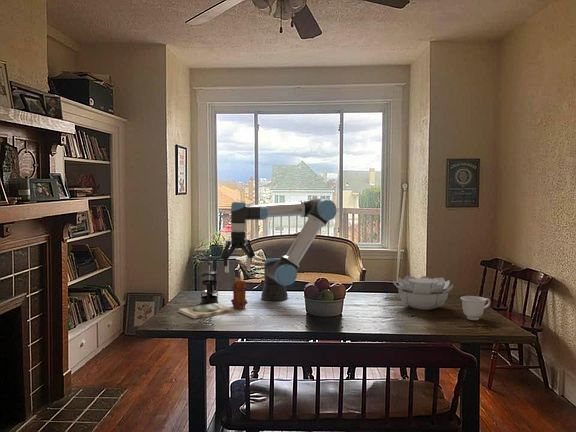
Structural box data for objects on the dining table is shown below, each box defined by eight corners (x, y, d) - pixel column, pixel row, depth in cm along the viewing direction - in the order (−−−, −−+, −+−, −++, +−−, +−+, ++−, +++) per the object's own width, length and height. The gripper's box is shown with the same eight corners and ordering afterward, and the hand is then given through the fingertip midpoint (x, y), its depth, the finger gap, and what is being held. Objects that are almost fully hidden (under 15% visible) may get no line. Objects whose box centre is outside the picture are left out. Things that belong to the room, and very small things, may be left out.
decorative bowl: (430, 299, 285) (430, 273, 284) (463, 312, 257) (464, 283, 256) (382, 303, 276) (383, 276, 275) (411, 316, 248) (412, 286, 247)
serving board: (216, 305, 268) (216, 301, 268) (233, 311, 255) (233, 307, 255) (178, 312, 255) (178, 307, 254) (194, 318, 241) (194, 314, 241)
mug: (248, 309, 260) (248, 281, 259) (233, 310, 258) (233, 281, 257) (243, 303, 274) (243, 276, 273) (228, 304, 272) (228, 276, 271)
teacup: (496, 321, 240) (497, 300, 239) (467, 322, 237) (468, 301, 237) (482, 314, 252) (483, 295, 251) (455, 316, 249) (455, 296, 249)
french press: (216, 305, 270) (216, 262, 269) (199, 305, 270) (199, 262, 268) (219, 300, 282) (219, 259, 280) (202, 300, 281) (202, 259, 280)
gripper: (253, 229, 275) (253, 268, 276) (213, 231, 259) (213, 272, 260) (261, 230, 269) (261, 269, 270) (221, 232, 253) (221, 274, 254)
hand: (237, 271), depth 265 cm, fingers open, 13 cm apart
